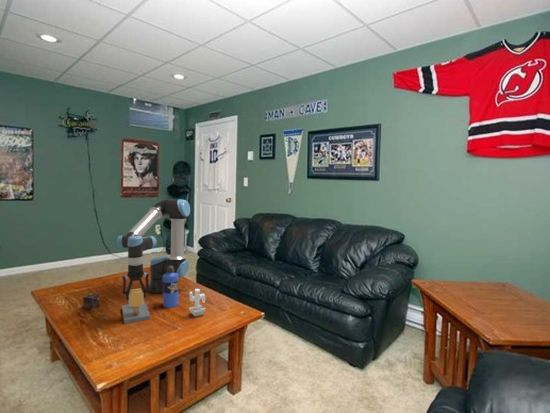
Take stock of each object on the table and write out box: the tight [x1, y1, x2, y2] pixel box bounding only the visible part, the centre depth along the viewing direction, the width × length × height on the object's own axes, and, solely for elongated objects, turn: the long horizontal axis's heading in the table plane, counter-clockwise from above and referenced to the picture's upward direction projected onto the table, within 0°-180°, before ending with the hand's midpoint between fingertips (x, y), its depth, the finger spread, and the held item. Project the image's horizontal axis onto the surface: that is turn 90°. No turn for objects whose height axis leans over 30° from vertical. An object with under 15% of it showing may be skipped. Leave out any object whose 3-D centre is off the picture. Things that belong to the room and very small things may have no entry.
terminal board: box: [121, 301, 151, 325], centre depth 176 cm, size 13×22×8 cm, turn 29°
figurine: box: [188, 288, 207, 317], centre depth 177 cm, size 7×9×15 cm
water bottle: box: [162, 265, 179, 309], centre depth 189 cm, size 9×9×25 cm
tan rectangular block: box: [129, 287, 143, 307], centre depth 171 cm, size 6×6×8 cm
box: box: [82, 293, 100, 310], centre depth 184 cm, size 6×6×7 cm
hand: (136, 304), depth 171 cm, fingers closed on tan rectangular block, 6 cm apart
